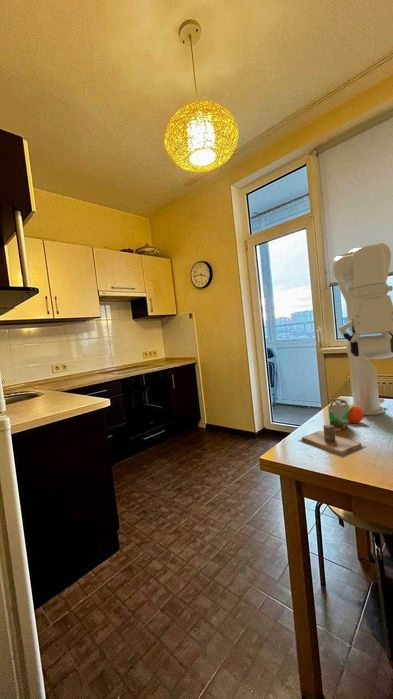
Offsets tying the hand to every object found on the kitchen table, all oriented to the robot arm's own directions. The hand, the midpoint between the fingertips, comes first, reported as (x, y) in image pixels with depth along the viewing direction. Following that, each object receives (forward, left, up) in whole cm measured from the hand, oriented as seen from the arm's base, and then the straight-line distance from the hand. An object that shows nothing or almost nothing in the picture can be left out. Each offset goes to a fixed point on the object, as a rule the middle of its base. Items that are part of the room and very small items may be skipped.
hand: (375, 354), depth 80 cm
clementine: (-19, -22, -30) cm, 42 cm away
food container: (-11, -21, -30) cm, 38 cm away
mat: (+4, -14, -30) cm, 33 cm away
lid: (+4, -14, -29) cm, 32 cm away
